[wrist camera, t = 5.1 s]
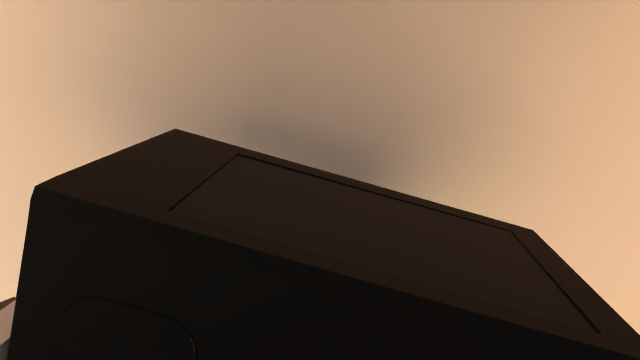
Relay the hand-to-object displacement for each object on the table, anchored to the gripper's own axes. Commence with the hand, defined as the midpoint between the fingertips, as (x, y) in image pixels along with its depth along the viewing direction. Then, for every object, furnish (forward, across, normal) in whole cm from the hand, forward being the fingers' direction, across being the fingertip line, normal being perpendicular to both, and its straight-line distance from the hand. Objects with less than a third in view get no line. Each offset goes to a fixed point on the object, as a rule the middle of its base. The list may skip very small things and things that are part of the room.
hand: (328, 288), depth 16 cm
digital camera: (+1, 0, 0) cm, 1 cm away
